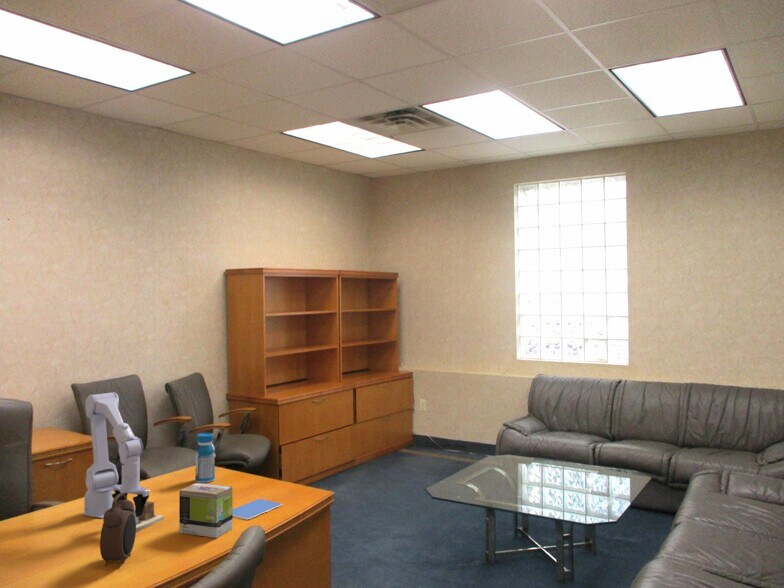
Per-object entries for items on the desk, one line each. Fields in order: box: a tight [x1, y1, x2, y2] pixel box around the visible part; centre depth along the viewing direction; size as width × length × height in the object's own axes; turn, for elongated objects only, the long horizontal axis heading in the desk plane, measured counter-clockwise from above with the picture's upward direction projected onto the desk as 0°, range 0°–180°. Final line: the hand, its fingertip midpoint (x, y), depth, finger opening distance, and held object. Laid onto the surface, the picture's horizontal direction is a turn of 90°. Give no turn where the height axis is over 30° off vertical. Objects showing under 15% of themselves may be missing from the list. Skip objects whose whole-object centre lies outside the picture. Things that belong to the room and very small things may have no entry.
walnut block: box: [139, 500, 155, 520], centre depth 222 cm, size 4×4×5 cm
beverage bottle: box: [194, 432, 216, 484], centre depth 270 cm, size 8×8×20 cm
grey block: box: [133, 507, 139, 524], centre depth 215 cm, size 4×4×5 cm
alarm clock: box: [99, 494, 137, 569], centre depth 188 cm, size 15×7×20 cm, turn 4°
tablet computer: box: [232, 498, 284, 521], centre depth 234 cm, size 19×13×1 cm, turn 149°
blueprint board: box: [136, 514, 165, 533], centre depth 218 cm, size 10×14×1 cm
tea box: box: [178, 482, 234, 539], centre depth 212 cm, size 15×10×15 cm, turn 71°
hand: (130, 514), depth 215 cm, fingers open, 7 cm apart
